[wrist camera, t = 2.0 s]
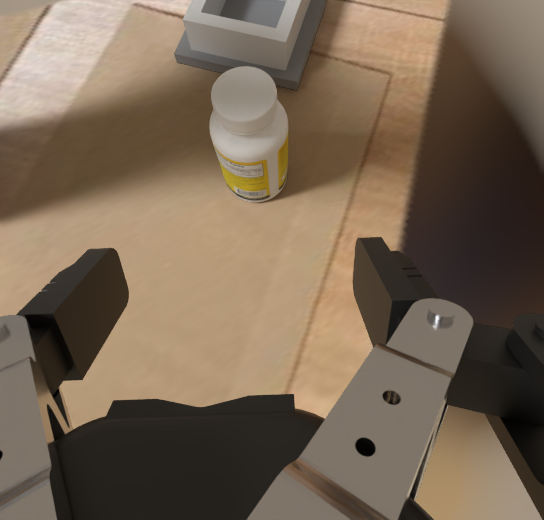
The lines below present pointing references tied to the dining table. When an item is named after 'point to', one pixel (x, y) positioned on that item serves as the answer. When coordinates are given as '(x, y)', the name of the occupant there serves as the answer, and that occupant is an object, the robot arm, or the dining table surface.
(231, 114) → the supplement bottle
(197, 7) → the board
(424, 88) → the dining table surface
